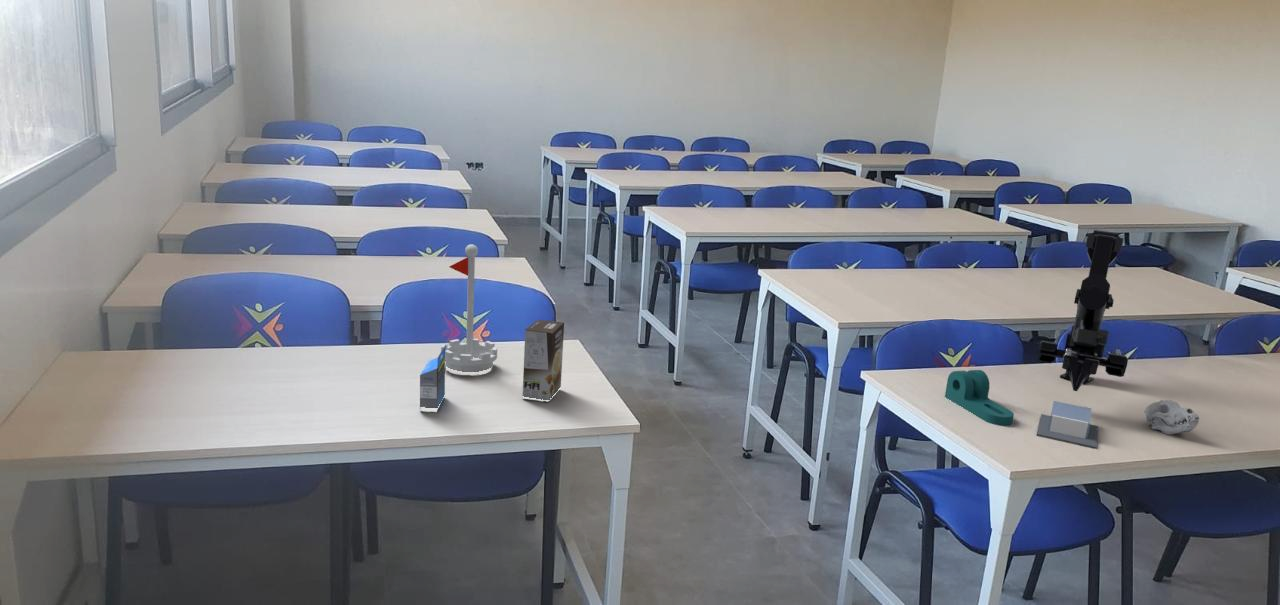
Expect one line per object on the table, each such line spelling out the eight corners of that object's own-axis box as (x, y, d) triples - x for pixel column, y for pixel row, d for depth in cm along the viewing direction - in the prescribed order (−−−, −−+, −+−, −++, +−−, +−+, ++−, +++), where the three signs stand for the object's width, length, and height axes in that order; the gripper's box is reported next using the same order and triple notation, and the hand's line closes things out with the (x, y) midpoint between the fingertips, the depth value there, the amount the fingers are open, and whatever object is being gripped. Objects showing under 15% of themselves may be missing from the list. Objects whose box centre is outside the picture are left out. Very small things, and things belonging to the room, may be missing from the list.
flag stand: (488, 357, 230) (492, 238, 222) (503, 375, 218) (507, 250, 210) (435, 361, 224) (437, 239, 216) (447, 379, 213) (449, 251, 205)
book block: (1053, 400, 216) (1050, 415, 206) (1091, 408, 212) (1090, 423, 203) (1050, 415, 216) (1047, 430, 207) (1088, 423, 213) (1087, 439, 203)
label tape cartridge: (427, 396, 202) (428, 342, 199) (445, 397, 202) (446, 343, 199) (419, 412, 194) (419, 355, 190) (437, 413, 194) (438, 357, 191)
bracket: (944, 397, 225) (949, 367, 222) (967, 396, 227) (973, 365, 225) (993, 427, 208) (1000, 394, 206) (1018, 425, 210) (1024, 392, 208)
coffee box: (549, 403, 203) (552, 333, 199) (521, 399, 204) (524, 329, 200) (561, 389, 212) (564, 321, 208) (534, 385, 213) (537, 318, 209)
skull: (1158, 407, 220) (1198, 388, 210) (1170, 443, 216) (1212, 426, 206) (1131, 407, 217) (1171, 387, 207) (1144, 443, 214) (1185, 425, 203)
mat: (1040, 415, 217) (1041, 413, 217) (1097, 427, 212) (1097, 425, 212) (1036, 435, 205) (1036, 433, 204) (1096, 448, 200) (1096, 447, 199)
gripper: (1046, 307, 216) (1034, 364, 210) (1135, 322, 209) (1126, 382, 202) (1042, 331, 225) (1030, 387, 219) (1128, 347, 218) (1118, 405, 211)
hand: (1075, 390), depth 212 cm, fingers closed
